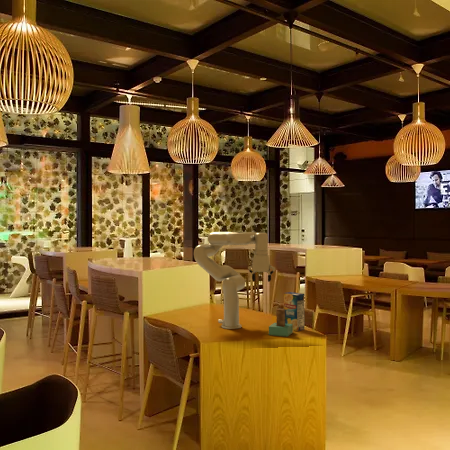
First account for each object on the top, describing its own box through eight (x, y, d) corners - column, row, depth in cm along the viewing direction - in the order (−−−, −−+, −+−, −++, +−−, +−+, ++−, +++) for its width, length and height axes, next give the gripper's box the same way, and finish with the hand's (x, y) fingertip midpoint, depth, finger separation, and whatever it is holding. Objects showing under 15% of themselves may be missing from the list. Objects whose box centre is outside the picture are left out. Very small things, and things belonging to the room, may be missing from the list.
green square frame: (268, 334, 305) (268, 326, 305) (274, 330, 316) (274, 322, 316) (287, 336, 301) (287, 328, 301) (292, 332, 311) (292, 324, 311)
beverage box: (297, 331, 314) (297, 295, 314) (283, 328, 322) (283, 293, 322) (304, 329, 319) (304, 293, 318) (291, 326, 327) (290, 291, 326)
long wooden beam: (276, 333, 307) (276, 309, 307) (278, 331, 311) (278, 308, 311) (283, 333, 306) (283, 310, 305) (284, 332, 309) (284, 308, 309)
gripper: (245, 253, 315) (246, 281, 315) (273, 253, 308) (273, 282, 308) (250, 252, 322) (250, 279, 322) (277, 252, 315) (277, 281, 315)
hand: (261, 281), depth 315 cm, fingers open, 9 cm apart
